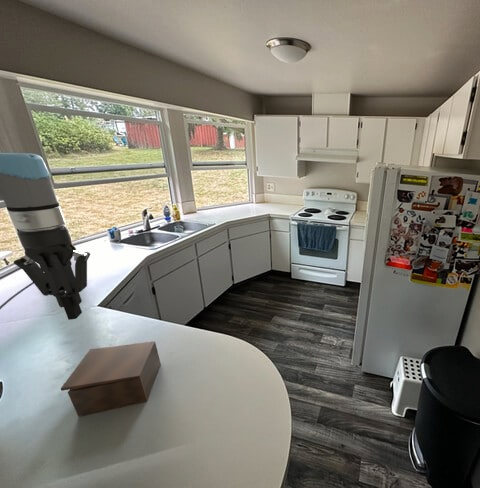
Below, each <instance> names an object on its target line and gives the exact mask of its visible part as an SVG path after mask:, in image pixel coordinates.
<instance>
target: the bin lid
mask: <svg viewBox="0 0 480 488" xmlns="http://www.w3.org/2000/svg"><path fill="white" fill-rule="evenodd" d="M155 343H156V340H152V341H143V342H137V343H136V342H135V343H128V344H121V345H113V346H105V347H98V348H90V349H89V350H88V351H87V352H86V354H85V355H84V356H83V358H82V360H81V361H80V362H79V363H78V365H77V366H76V367H75V368H74V370H73V371H72V373H71V374H70V375H69V377H68V378H67V379H66V381H65V382H64V383H63V384H62V386H61V387H60V391H63V392H64V391H69V390H70V389H76V388H82V387H88V386H94V385H100V384H106V383H112V382H118V381H124V380H130V379H136V378H140V377H141V374H142V372H143V370H144V368H145V365H146V363H147V361H148V359H149V356H150V354H151V352H152V350H153V347H154V345H155Z"/></svg>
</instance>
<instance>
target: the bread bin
mask: <svg viewBox="0 0 480 488" xmlns="http://www.w3.org/2000/svg"><path fill="white" fill-rule="evenodd" d="M161 365H162V363H161V360H160V355H159V352H158V348H157V343H156V342H155V345H154V347H153V350H152V352H151V354H150V356H149V359H148V361H147V363H146V365H145V368H144V370H143V372H142V374H141V377H140V378H136V379H130V380H124V381H118V382H112V383H106V384H100V385H94V386H88V387H82V388H76V389H69V390H67V394H68V396H69V399H70V400H71V404H72V406H73V408H74V410H75V412H76V415H77V417H78V418H79V417H84V416H88V415H93V414H96V413H97V414H98V413H101V412H106V411H111V410H116V409H119V408H123V407H128V406H134V405H138V404H142V403H146V402H148V400H149V398H150V395H151V392H152V390H153V387H154V384H155V381H156V380H157V376H158V373H159V371H160V368H161Z"/></svg>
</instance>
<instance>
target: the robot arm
mask: <svg viewBox="0 0 480 488" xmlns="http://www.w3.org/2000/svg"><path fill="white" fill-rule="evenodd" d="M51 177H52V176H51V172H49V170H48V167H47V165H46V163H45V161H44V159H43V157H42V156H41V155H39V154H36V153H27V152H26V153H24V152H23V153H20V152H0V201H3V202H4V204H5V207H6V210H7V211H8V214H9V217H10V219H11V221H12V224H13V226H14V228H15V229H16V230H18V231H17V232H16V234H17V236H18V238H19V241H20V243H21V246H22V247H23V248H25V250H24V255H23V256H20V257H19V258H17V259H15V260H14V261H13V264H14V265H15V266H17V267H18V268H20V269H21V270H22V271H23V272H24V273H25V274H26V275H27V277H28V278H29V280H31V282H30V283H29V284H28V285H26V286H24V287H23V288H21V289H20V290H19V291H17V292H16V293H14V295H12V296H11V297H9V298H8V299H7V300H6V301H4V302H3V303H2V304H1V305H0V310H1V309H2V308H4V307H5V306H6V305H7V304H8V303H9V302H11V301H12V300H13V299H14V298H16V297H17V296H18V295H19V294H21V293H23V291H25V290H27V289H28V288H29V287H31V286H32V285H35V287H36V288H37V289H38V291H39V292H40V293H41V294H42V296H45V297H47V296H53V297H55V299H56V302H57V304H58V306H59V308H63V309H64V311H65V314H66V317H67V319H68V321H71V320H76V319H78V317H80V315H81V314H83V310H82V308H81V305H80V304H81V303H82V300H83V299H82V298H81V294H80V293H81V292H82V291H84V289H86V288H87V287H88V261H89V258H90V257H91V253H90V252H89V251H84V252H83V251H80V250H77V248H76V246H75V245H73V243H72V238H71V235H70V232H69V229H68V226H67V225H66V224H65V223H66V219H65V217H64V214H63V211H62V209H61V206H60V203H59V200H58V197H57V194H56V190H55V188H54V185H53V184H54V183H53V181H52V178H51ZM72 258H73V261H74V262H75V263H74V270H73V267H72V264H73V263H72V261H71V260H72Z"/></svg>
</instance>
